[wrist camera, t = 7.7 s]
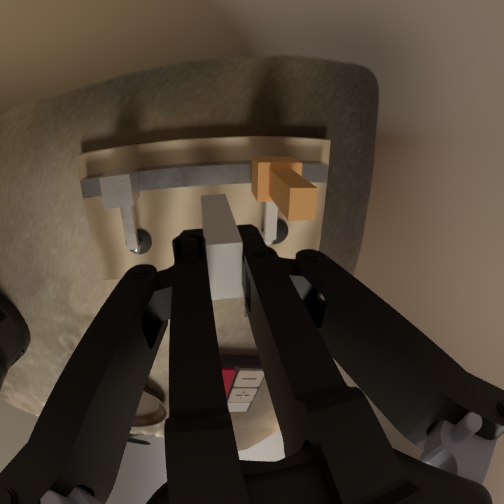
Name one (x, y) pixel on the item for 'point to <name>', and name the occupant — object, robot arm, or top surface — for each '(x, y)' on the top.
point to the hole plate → (192, 198)
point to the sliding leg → (282, 191)
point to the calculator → (241, 380)
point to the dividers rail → (172, 184)
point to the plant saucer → (149, 410)
